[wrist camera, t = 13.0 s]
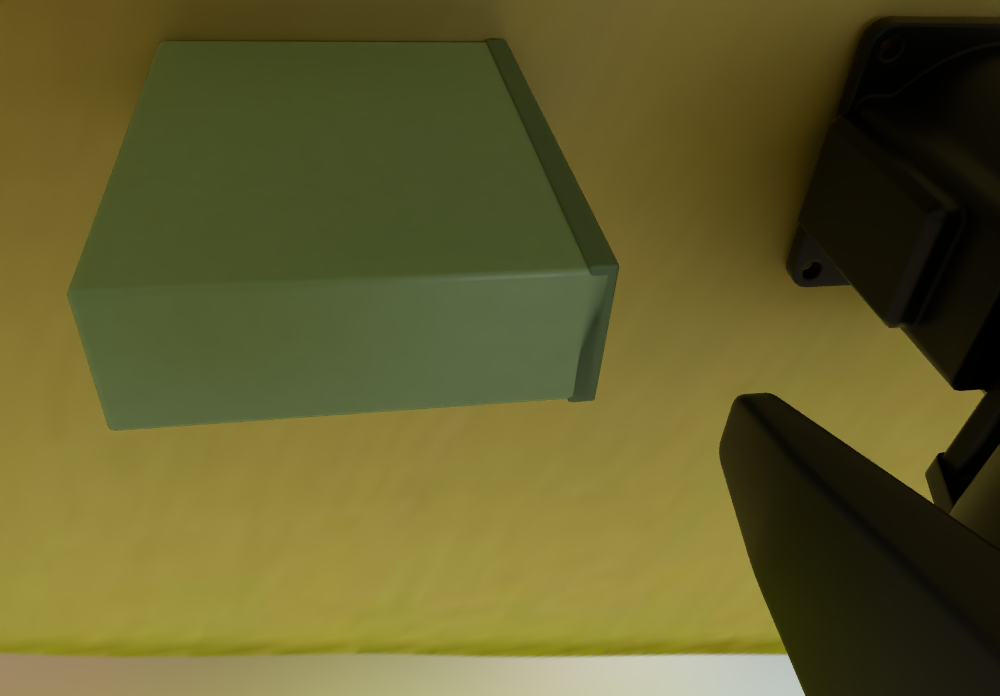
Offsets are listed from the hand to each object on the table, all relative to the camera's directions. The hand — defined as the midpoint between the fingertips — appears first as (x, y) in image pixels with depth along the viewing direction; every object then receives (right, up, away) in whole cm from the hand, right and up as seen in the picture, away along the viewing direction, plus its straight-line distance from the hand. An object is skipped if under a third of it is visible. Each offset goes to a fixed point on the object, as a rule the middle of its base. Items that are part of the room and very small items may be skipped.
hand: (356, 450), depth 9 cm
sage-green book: (-2, +6, +7) cm, 10 cm away
